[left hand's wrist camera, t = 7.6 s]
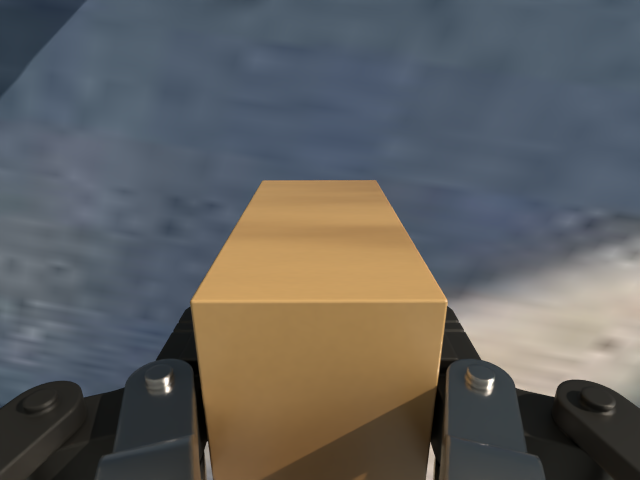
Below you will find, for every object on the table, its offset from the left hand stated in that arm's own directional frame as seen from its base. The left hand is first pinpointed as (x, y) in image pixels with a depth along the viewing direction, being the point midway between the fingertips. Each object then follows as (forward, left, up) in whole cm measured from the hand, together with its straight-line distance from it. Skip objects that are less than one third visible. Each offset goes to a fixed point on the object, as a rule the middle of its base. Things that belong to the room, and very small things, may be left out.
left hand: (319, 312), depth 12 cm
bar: (-9, +3, -5) cm, 11 cm away
